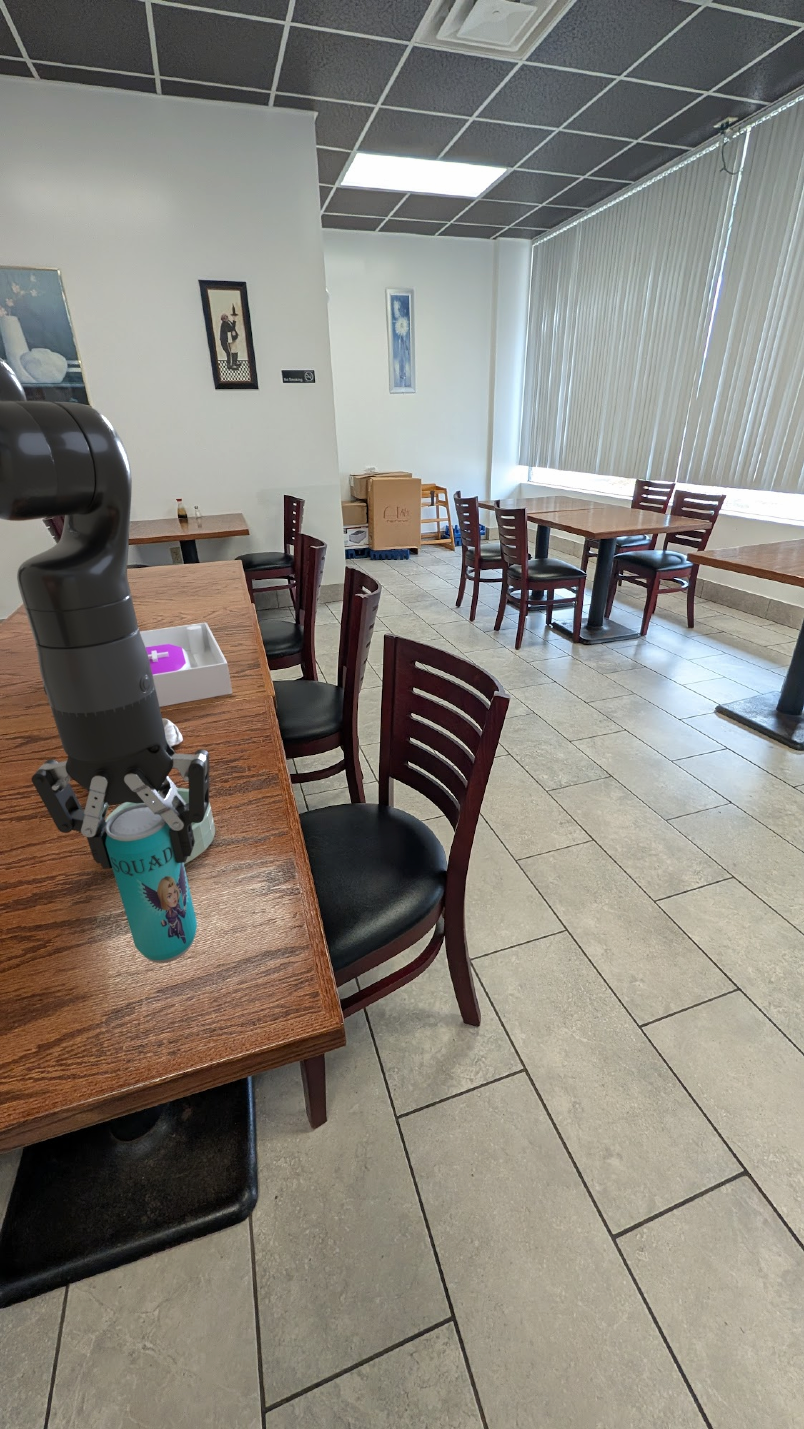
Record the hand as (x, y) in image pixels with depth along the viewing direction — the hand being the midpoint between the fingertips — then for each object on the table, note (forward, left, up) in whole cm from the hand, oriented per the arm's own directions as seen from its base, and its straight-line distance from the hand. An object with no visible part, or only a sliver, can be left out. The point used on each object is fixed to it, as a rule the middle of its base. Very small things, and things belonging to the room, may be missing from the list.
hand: (147, 859), depth 53 cm
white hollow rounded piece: (-16, +55, -17) cm, 60 cm away
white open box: (-23, +91, -16) cm, 95 cm away
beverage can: (0, 0, -11) cm, 11 cm away
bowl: (-8, +24, -16) cm, 30 cm away
